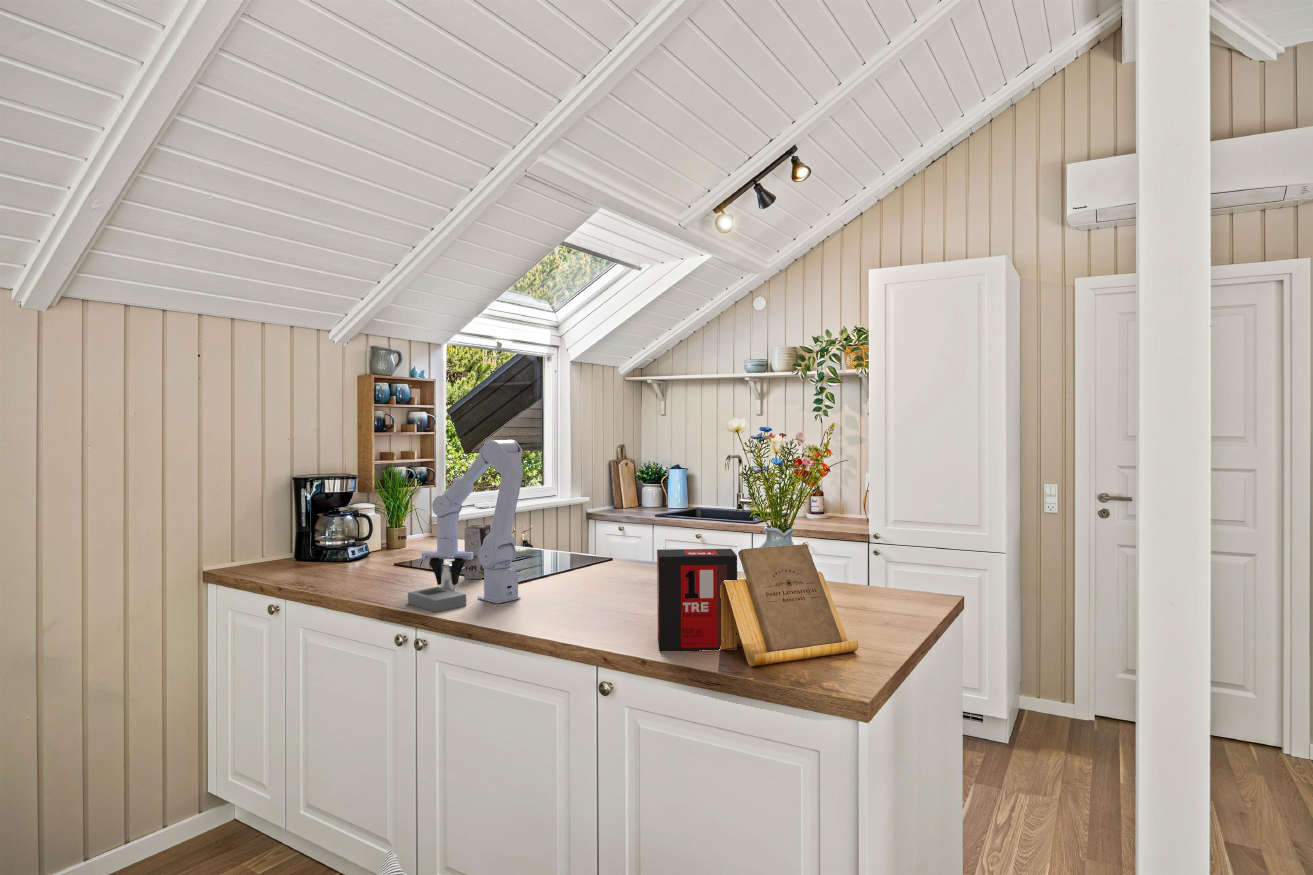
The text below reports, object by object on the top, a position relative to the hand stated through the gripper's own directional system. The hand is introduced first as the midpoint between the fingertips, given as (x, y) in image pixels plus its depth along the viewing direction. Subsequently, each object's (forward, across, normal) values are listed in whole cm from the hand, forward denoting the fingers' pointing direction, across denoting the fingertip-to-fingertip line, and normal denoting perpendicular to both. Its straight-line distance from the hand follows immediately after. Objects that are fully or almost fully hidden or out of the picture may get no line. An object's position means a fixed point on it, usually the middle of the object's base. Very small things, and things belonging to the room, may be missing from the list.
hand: (447, 584), depth 202 cm
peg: (+2, 0, 0) cm, 2 cm away
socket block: (+2, -2, +14) cm, 14 cm away
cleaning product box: (+3, -72, +46) cm, 85 cm away
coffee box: (+3, -2, -23) cm, 23 cm away
